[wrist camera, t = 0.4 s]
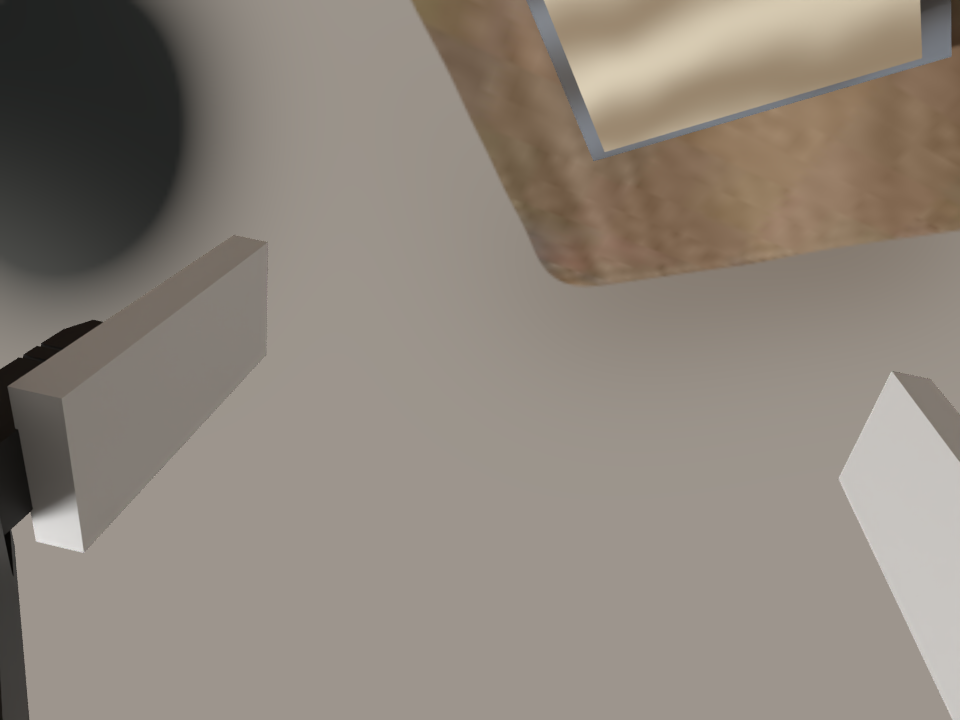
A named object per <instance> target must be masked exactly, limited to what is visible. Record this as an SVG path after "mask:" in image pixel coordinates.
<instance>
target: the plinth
mask: <svg viewBox="0 0 960 720" xmlns="http://www.w3.org/2000/svg"><path fill="white" fill-rule="evenodd" d="M527 3H528V5H529V8H530V10H531V12H532V15H533V17H534V20H535V22H536V24H537V27H538V29H539V32H540V34H541V36H542V39H543V41H544V44H545V46H546V48H547V51H548V53H549V55H550V58H551V60H552V63H553V65H554V67H555V70H556V72H557V75H558V77H559V79H560V82H561V84H562V87H563V89H564V91H565V94H566V96H567V99H568V101H569V103H570V106H571V108H572V111H573V113H574V115H575V118H576V120H577V123H578V125H579V127H580V130H581V132H582V134H583V137H584V139H585V142H586V144H587V146H588V149H589V151H590V154H591V156H592V158H593V161H596V160H599V159H603V158H606V157H610V156H613V155H617V154H620V153H623V152H627V151H630V150H634V149H637V148H640V147H644V146H647V145H651V144H654V143H658V142H661V141H664V140H668V139H671V138H675V137H678V136H681V135H685V134H688V133H692V132H695V131H699V130H702V129H705V128H709V127H712V126H716V125H719V124H722V123H726V122H729V121H733V120H736V119H740V118H743V117H746V116H750V115H753V114H757V113H760V112H763V111H767V110H770V109H774V108H777V107H781V106H784V105H787V104H791V103H794V102H798V101H801V100H804V99H808V98H811V97H815V96H818V95H822V94H825V93H828V92H832V91H835V90H839V89H842V88H845V87H849V86H852V85H856V84H859V83H863V82H866V81H869V80H873V79H876V78H880V77H883V76H886V75H890V74H893V73H897V72H900V71H904V70H907V69H910V68H914V67H917V66H921V65H924V64H927V63H931V62H934V61H938V60H941V59H945V58H948V57H951V0H527Z"/></svg>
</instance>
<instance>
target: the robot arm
mask: <svg viewBox="0 0 960 720" xmlns="http://www.w3.org/2000/svg"><path fill="white" fill-rule="evenodd" d="M267 274H268V242H264V241H259V240H255V239H250V238H245V237H240V236H235V235H233V236H232V237H230V238H229V239H227V240H226V241H224V242H223V243H221V244H220V245H218V246H217V247H215V248H214V249H212V250H211V251H209V252H208V253H206V254H205V255H203V256H202V257H200V258H199V259H197V260H196V261H194V262H193V263H191V264H190V265H188V266H187V267H185V268H184V269H182V270H181V271H179V272H178V273H176V274H175V275H173V276H172V277H170V278H169V279H167V280H166V281H164V282H163V283H161V284H160V285H158V286H157V287H155V288H154V289H152V290H151V291H149V292H148V293H146V294H145V295H143V296H142V297H140V298H139V299H137V300H136V301H134V302H133V303H131V304H130V305H128V306H127V307H125V308H124V309H122V310H121V311H120V312H118V313H116V314H115V315H114V316H112V317H110V318H109V319H107V320H106V321H104V322H101V321H96V320H91V321H88V322H85V323H82V324H79V325H76V326H72V327H70V328H66V329H63V330H62V331H60V332H59V333H57V334H55V335H54V336H52V337H51V338H49V339H47V340H46V341H44V342H43V343H41V347H39V346H36V347H35V348H33V349H32V350H30V351H28V352H27V353H25V354H24V356H23V358H17V359H16V360H14V361H13V362H11V363H9V364H8V365H6V366H5V367H3V368H2V369H0V720H29V711H28V699H27V688H26V676H25V664H24V652H23V640H22V629H21V617H20V605H19V593H18V582H17V570H16V558H15V546H14V541H13V536H12V532H11V529H12V528H13V527H14V526H15V525H16V524H17V523H18V522H19V521H21V520H22V519H23V518H24V517H25V516H26V515H27V514H28V513H29V512H31V516H32V521H33V527H34V532H35V537H36V542H41V543H45V544H49V545H54V546H58V547H62V548H66V549H70V550H74V551H78V552H83V553H84V552H85V551H86V550H87V549H88V548H89V547H90V546H91V545H92V544H93V542H94V541H95V540H96V539H97V538H98V537H99V536H100V535H101V534H102V533H103V532H104V530H105V529H106V528H107V527H108V526H109V525H110V524H111V523H112V522H113V521H114V520H115V519H116V517H117V516H118V515H119V514H120V513H121V512H122V511H123V510H124V509H125V508H126V507H127V505H128V504H129V503H130V502H131V501H132V500H133V499H134V498H135V497H136V496H137V495H138V494H139V493H140V491H141V490H142V489H143V488H144V487H145V486H146V485H147V484H148V483H149V481H151V479H152V478H153V477H154V476H155V475H156V474H157V473H158V472H159V470H161V469H162V468H163V466H164V465H165V464H166V463H167V462H168V461H169V460H170V459H171V458H172V457H173V455H174V454H175V453H176V452H177V451H178V450H179V449H180V448H181V447H182V446H183V445H184V444H185V443H186V441H187V440H188V439H189V438H190V437H191V436H192V435H193V434H194V433H195V432H196V431H197V429H198V428H199V427H200V426H201V425H202V424H203V423H204V422H205V421H206V420H207V419H208V418H209V416H210V415H211V414H212V413H213V412H214V411H215V410H216V409H217V408H218V407H219V406H220V405H221V403H222V402H223V401H224V400H225V399H226V398H227V397H228V396H229V395H230V394H231V392H233V390H234V389H235V388H236V387H237V386H238V385H239V384H240V383H241V382H242V381H243V380H244V378H245V377H246V376H247V375H248V374H249V373H250V372H251V371H252V370H253V369H254V368H255V367H256V365H257V364H258V363H259V362H260V361H261V360H262V359H263V358H264V357H265V356H266V339H267ZM839 481H840V483H841V485H842V488H843V489H844V491H845V494H846V496H847V498H848V500H849V502H850V504H851V506H852V509H853V511H854V513H855V515H856V517H857V519H858V521H859V523H860V525H861V528H862V530H863V532H864V534H865V536H866V538H867V540H868V542H869V545H870V547H871V548H872V551H873V553H874V555H875V557H876V559H877V561H878V563H879V565H880V567H881V570H882V572H883V574H884V576H885V578H886V580H887V582H888V585H889V587H890V589H891V591H892V593H893V595H894V597H895V599H896V601H897V604H898V606H899V608H900V610H901V612H902V614H903V616H904V618H905V621H906V623H907V625H908V627H909V629H910V631H911V633H912V635H913V637H914V640H915V642H916V644H917V646H918V648H919V650H920V652H921V654H922V656H923V659H924V661H925V663H926V665H927V667H928V669H929V671H930V673H931V675H932V677H933V680H934V682H935V684H936V686H937V688H938V690H939V692H940V694H941V697H942V699H943V701H944V702H945V705H946V707H947V709H948V711H949V714H950V716H951V718H952V720H960V415H959V413H958V412H957V411H956V409H955V408H954V407H953V406H952V405H951V403H950V402H949V401H948V400H947V398H945V396H944V395H943V394H942V392H941V391H940V390H939V389H938V388H937V387H936V385H935V384H934V383H933V382H932V380H931V379H928V378H922V377H918V376H914V375H909V374H903V373H899V372H894V371H892V372H891V374H890V376H889V378H888V380H887V382H886V384H885V386H884V388H883V390H882V392H881V394H880V396H879V398H878V400H877V402H876V404H875V406H874V408H873V410H872V412H871V414H870V416H869V418H868V420H867V422H866V424H865V426H864V428H863V430H862V432H861V434H860V436H859V438H858V440H857V442H856V444H855V446H854V448H853V450H852V452H851V454H850V456H849V458H848V460H847V463H846V464H845V467H844V468H843V471H842V473H841V474H840V476H839Z"/></svg>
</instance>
